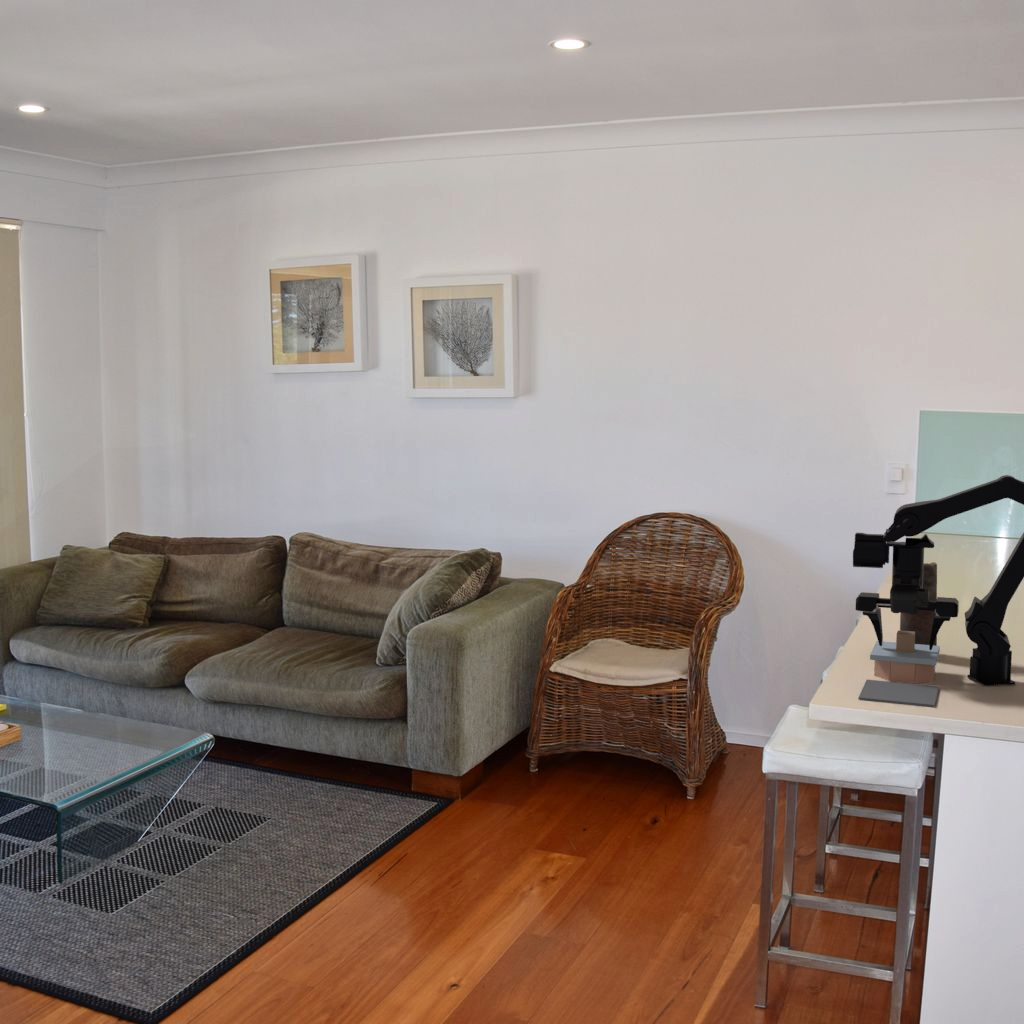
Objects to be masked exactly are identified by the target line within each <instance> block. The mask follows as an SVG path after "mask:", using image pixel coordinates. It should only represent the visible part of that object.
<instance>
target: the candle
mask: <svg viewBox="0 0 1024 1024" xmlns="http://www.w3.org/2000/svg"><path fill="white" fill-rule="evenodd" d="M937 586H938V564H937V563H936V562H930V563H928V562H927V563H924V568H923V588H924V589H929V601H936V600H937V597H938V592H937V590H938V589H937V588H938V587H937ZM899 614H900V617H899V618H900V619H899V620H900V621H899V631H913V632H915V644H921V645H929V643H930V637H931V631H932V626H933V620H934V615H935V611H927V610H918V611H917V613H916V614H908V613H899ZM937 637H938V635H937V636H936V639H935V642H934V646H938V642H937V641H938V638H937Z"/></svg>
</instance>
